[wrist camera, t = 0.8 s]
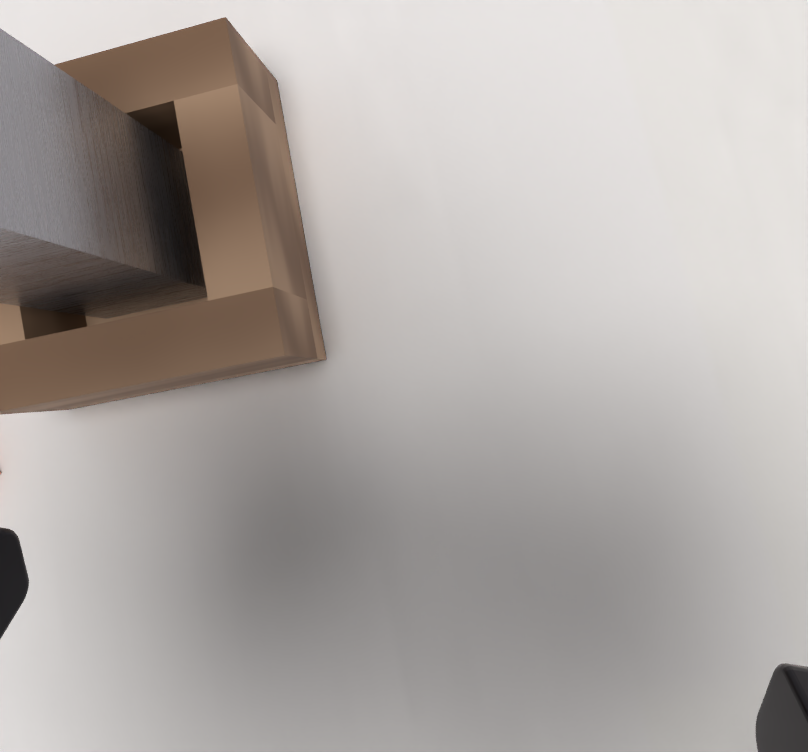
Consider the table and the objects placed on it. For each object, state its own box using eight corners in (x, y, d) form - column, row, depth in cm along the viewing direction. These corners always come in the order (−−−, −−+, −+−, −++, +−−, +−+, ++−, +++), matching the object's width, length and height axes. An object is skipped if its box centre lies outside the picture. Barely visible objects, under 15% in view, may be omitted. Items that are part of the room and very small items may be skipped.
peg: (225, 293, 22) (-125, 190, 10) (106, 318, 22) (-356, 250, 11) (203, 166, 22) (-168, -87, 10) (85, 194, 23) (-394, -11, 11)
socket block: (326, 359, 22) (285, 355, 18) (68, 409, 24) (-23, 415, 20) (276, 80, 23) (225, 17, 19) (24, 146, 24) (-73, 100, 20)
